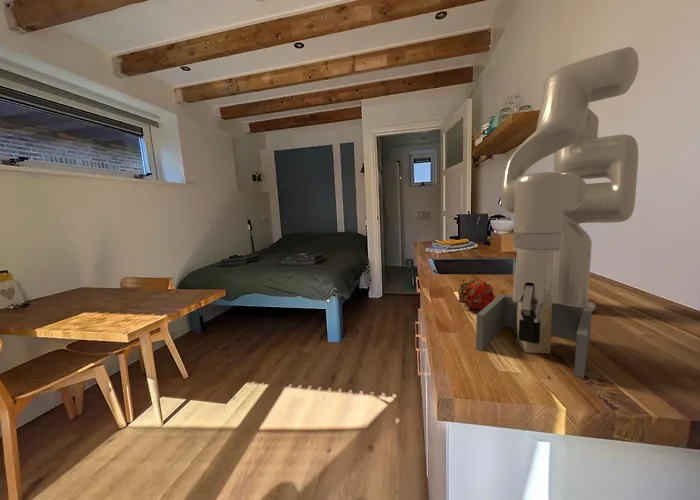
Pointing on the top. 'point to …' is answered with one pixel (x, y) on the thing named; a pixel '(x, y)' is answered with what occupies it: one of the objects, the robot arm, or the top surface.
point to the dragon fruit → (476, 294)
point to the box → (545, 328)
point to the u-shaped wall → (564, 324)
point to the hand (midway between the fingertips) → (532, 334)
